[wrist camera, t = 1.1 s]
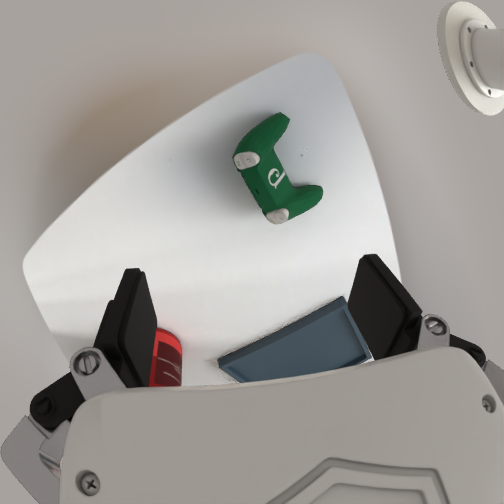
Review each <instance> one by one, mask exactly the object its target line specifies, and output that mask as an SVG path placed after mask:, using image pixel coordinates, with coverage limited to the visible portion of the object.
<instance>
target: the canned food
mask: <svg viewBox="0 0 504 504" xmlns="http://www.w3.org/2000/svg"><path fill="white" fill-rule="evenodd" d="M181 377H182V348H181V345H180V342H179V340H178V339H177V338H176V337H175V336H174V335H173V334H171V333H170V332H168V331H166V330H163V329H159V328H157V330H156V337H155V344H154V351H153V358H152V366H151V374H150V383H149V387H179V386H181Z"/></svg>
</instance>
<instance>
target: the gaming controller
mask: <svg viewBox="0 0 504 504" xmlns="http://www.w3.org/2000/svg"><path fill="white" fill-rule="evenodd" d="M289 121H290V119H289V118H288V117H287V116H286V115H284V114H283V113H281V112H279V113H277V114H275V115H273V116H271V117H269V118H268V119H266V120H264V121H263V122H262V123H260V124H259V125H258V126H256V127H255V128H254V129H252V130H251V131H250V132H249V133H248V134H247V135H246V136H245V137H244V138H243V139H242V141H241V142H240V143H239V144H238V146H237V148H236V151H235V153H234V155H233V157H232V158H233V161H234V164H235V166H236V168H237V170H238V171H239V172H241V175H242V177H243V179H244V181H245V183H246V185H247V186H248V188H249V190H250V191H251V193H252V195H253V197H254V198H255V200H256V202H257V203H258V205H259V206H260V208H261V209H262V213H263V214H264V216H265V217H266V218H267V219H268V220H269V221H270V222H271V223H273V224H280V223H283V222H286V221H287V220H290V219H292V218H294V217H296V216H298V215H300V214H302V213H304V212H306V211H308V210H309V209H311V208H312V207H314V206H315V205H317V203H318V202H319V201H320V200H321V199H322V195H323V189H322V187H320V186H317V185H307V186H303V187H298V188H293V187H292V185H291V183H290V181H289V179H288V177H287V175H286V173H285V171H284V169H283V167H282V165H281V163H280V161H279V159H278V157H277V155H276V154H275V152H274V150H273V147H274V145H275V143H276V142H277V141H278V140H279V138H280V137H281V136H282V135H283V133H284V132H285V130H286V128H287V126H288V124H289Z"/></svg>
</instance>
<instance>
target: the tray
mask: <svg viewBox="0 0 504 504" xmlns="http://www.w3.org/2000/svg"><path fill="white" fill-rule="evenodd" d="M347 305H348V304H347V302H346V300H345V298H344V297H343V296H342V297H340V298H339V299H337V300H335V301H333V302H332V303H330V304H328V305H326V306H324V307H323V308H321V309H319V310H317V311H315V312H313V313H312V314H310V315H308V316H306V317H304V318H302V319H300V320H299V321H297V322H295V323H293V324H291V325H289V326H287V327H285V328H283V329H281V330H279V331H277V332H275V333H273V334H271V335H269V336H267V337H265V338H263V339H261V340H259V341H257V342H255V343H253V344H250V345H248V346H246V347H244V348H242V349H240V350H238V351H235V352H233V353H231V354H229V355H227V356H224V357H222V358H220V359H218V362H219V368H221V369H222V370H223V371H225V372H226V373H228V374H229V375H230V376H232V377H233V378H235V379H236V380H237V381H239V382H240V383H247V382H256V381H265V380H274V379H281V378H289V377H295V376H302V375H308V374H314V373H320V372H325V371H330V370H335V369H340V368H345V367H350V366H355V365H359V364H361V363H363V362H365V361H367V360H368V359H370V358H372V356H371V354H370V352H369V349H368V347H367V345H366V343H365V340H364V338H363V336H362V335H361V333H360V331H359V329H358V327H357V325H356V323H355V321H354V320H353V318H352V316H351V314H350V312H349V310H348V306H347Z"/></svg>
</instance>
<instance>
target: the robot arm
mask: <svg viewBox="0 0 504 504" xmlns="http://www.w3.org/2000/svg"><path fill="white" fill-rule="evenodd" d="M460 50H461V55H462V59H463V62H464V65H465V68H466V70H467V73H468V75H469V77H470V79H471V81H472V82H473V84H474V85H475V87H476V88H477V89H478V90H479V92H480V93H482V94H483V95H484V96H487V97H490V98H498V97H500V96H501V95H502V94H503V93H504V29H491V28H490V27H489V26H488V25H487V24H486V23H484V22H483V21H481V20H479V19H468V20H466V21H465V22H464V23H463V24H462V27H461V30H460ZM347 306H348V310H349V312H350V314H351V316H352V318H353V320H354V321H355V323H356V325H357V327H358V329H359V331H360V333H361V335H362V336H363V338H364V340H365V342H366V344H367V346H368V348H369V350H370V352H371V354H372V356H373V358H374V360H375V361H372V362H368V363H363V364H359V365H355V366H350V367H345V368H340V369H335V370H330V371H325V372H320V373H314V374H308V375H302V376H295V377H289V378H281V379H274V380H265V381H256V382H247V383H235V384H222V385H204V386H179V387H149V383H150V374H151V366H152V358H153V351H154V344H155V337H156V330H157V317H156V314H155V310H154V307H153V303H152V299H151V296H150V292H149V288H148V284H147V280H146V276H145V273H144V271H142V272H141V271H140V269H139V268H131V269H126V270H125V272H124V274H123V277H122V279H121V282H120V285H119V287H118V290H117V293H116V295H115V298H114V300H110V301H109V303H108V305H107V308H106V310H105V313H104V316H103V319H102V322H101V324H100V327H99V330H98V333H97V336H96V339H95V343H94V346H93V347H86V348H83V349H80V350H79V351H77V352H76V353H75V354H74V355H73V357H72V358H71V361H70V370H71V371H70V372H69V373H68V374H66V375H65V376H63V377H62V378H60V379H59V380H57V381H56V382H54V383H53V384H51V385H50V386H48V387H47V388H45V389H44V390H42V391H41V392H39V393H38V394H37V395H35V396H34V398H33V399H32V401H31V404H30V413H31V414H30V415H29V416H28V417H27V416H26V415H25V416H24V417H23V418H22V420H21V421H20V422H19V423H18V425H17V426H16V427H15V428H14V430H13V431H12V432H11V434H10V435H9V436H8V437H7V439H6V440H5V441H4V443H3V445H2V447H1V457H2V459H3V461H4V463H5V464H6V466H7V467H8V468H9V470H10V471H11V472H12V473H13V475H14V476H15V477H16V478H17V479H18V481H19V482H20V483H21V484H22V485H23V487H24V488H25V489H26V490H27V491H28V492H29V493H30V494H31V495H32V497H33V498H34V499H35V500H36V501H37V502H38V503H39V504H504V370H502V369H501V368H500V367H498V366H497V365H495V364H494V363H493V362H492V361H490V360H488V361H486V356H485V354H484V352H483V350H482V349H481V348H480V347H479V346H477V345H475V344H473V343H470V342H468V341H466V340H463V339H461V338H459V337H456V336H454V335H451V334H450V329H449V326H448V324H447V322H446V321H445V320H444V319H442V318H441V317H439V316H437V315H433V314H428V315H425V316H424V317H422V316H421V313H422V310H421V309H420V307H419V306H418V305H417V303H416V302H415V301H414V299H413V298H412V297H411V296H410V294H409V293H408V292H407V290H406V289H405V288H404V287H403V285H402V284H401V283H400V282H399V280H398V279H397V278H396V277H395V275H394V274H393V273H392V272H391V271H390V269H389V268H388V267H387V266H386V265H385V263H384V262H383V261H382V260H381V259H380V258H379V256H378V255H377V254H367V255H364V256H363V257H362V258H361V259H360V260H359V264H358V267H357V271H356V275H355V279H354V282H353V286H352V290H351V293H350V296H349V300H348V305H347ZM62 457H63V461H62V469H61V468H60V461H61V458H62Z"/></svg>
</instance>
